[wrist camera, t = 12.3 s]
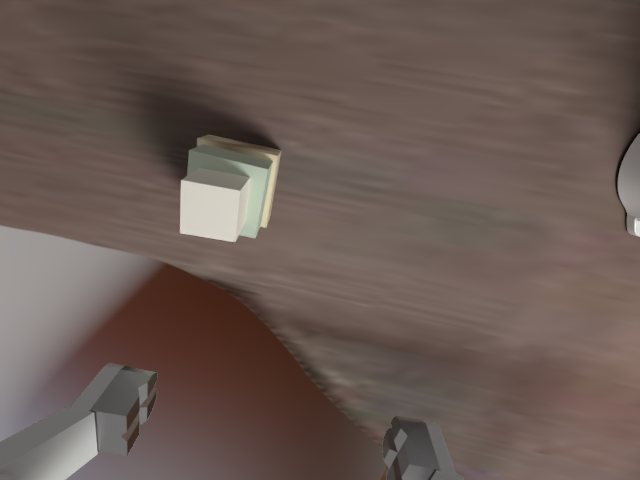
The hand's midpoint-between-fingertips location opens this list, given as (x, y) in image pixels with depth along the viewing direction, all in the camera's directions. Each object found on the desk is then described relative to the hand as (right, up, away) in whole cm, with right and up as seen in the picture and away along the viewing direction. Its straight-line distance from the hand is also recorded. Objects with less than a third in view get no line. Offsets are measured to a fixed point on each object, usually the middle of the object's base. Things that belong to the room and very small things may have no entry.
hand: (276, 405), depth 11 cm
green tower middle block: (-8, +11, +22) cm, 26 cm away
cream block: (-8, +10, +19) cm, 22 cm away
